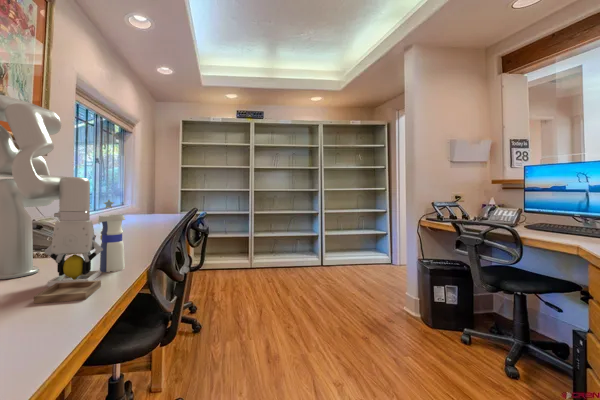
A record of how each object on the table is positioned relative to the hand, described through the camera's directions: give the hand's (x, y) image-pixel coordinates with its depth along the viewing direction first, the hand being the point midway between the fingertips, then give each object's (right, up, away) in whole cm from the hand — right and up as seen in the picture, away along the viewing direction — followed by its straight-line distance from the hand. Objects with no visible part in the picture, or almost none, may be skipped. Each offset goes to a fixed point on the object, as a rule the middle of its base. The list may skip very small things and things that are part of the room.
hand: (74, 273), depth 92 cm
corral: (0, -2, 0) cm, 2 cm away
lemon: (0, -2, 0) cm, 2 cm away
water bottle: (+3, -2, +13) cm, 14 cm away
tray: (+8, -3, -12) cm, 15 cm away
